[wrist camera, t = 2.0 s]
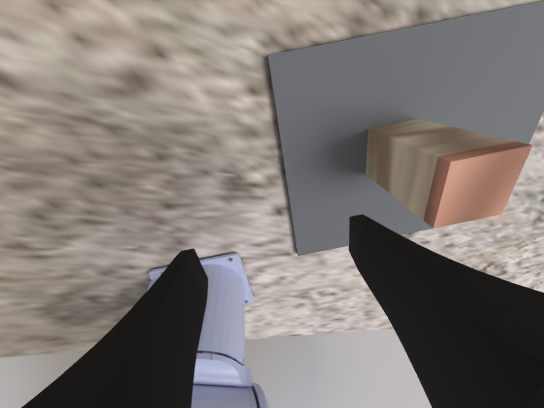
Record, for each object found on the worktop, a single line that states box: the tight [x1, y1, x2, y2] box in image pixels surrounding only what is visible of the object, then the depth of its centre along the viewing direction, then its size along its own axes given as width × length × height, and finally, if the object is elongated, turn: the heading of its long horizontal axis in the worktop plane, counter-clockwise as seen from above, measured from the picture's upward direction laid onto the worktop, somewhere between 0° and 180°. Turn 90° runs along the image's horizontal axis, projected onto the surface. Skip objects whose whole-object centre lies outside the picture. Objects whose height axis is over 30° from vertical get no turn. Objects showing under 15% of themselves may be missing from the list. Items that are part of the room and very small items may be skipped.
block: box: [366, 119, 533, 228], centre depth 15 cm, size 4×4×8 cm
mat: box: [268, 1, 544, 256], centre depth 19 cm, size 22×18×1 cm
